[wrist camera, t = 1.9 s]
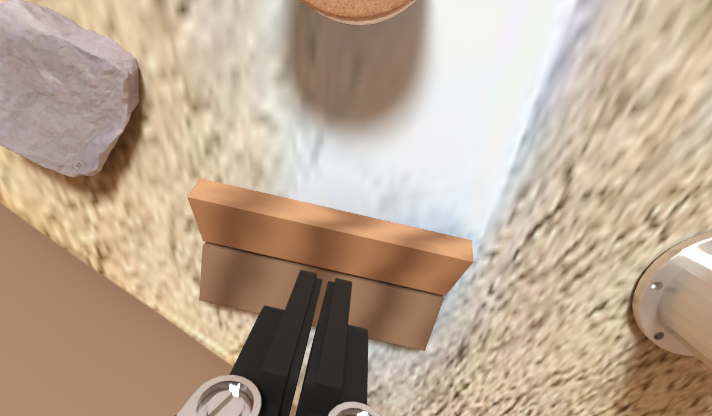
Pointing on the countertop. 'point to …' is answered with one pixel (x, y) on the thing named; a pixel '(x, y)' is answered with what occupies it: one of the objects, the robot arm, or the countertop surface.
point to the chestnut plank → (329, 237)
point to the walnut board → (277, 279)
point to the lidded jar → (359, 10)
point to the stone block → (62, 90)
